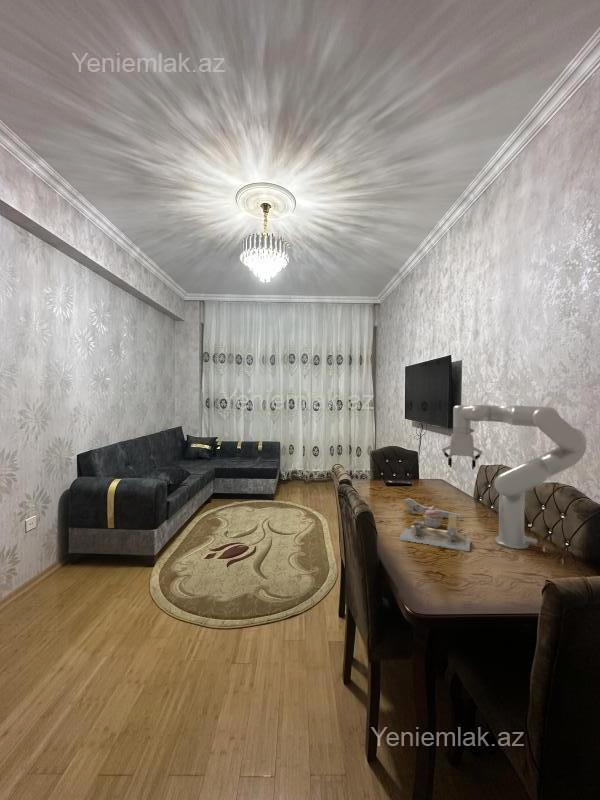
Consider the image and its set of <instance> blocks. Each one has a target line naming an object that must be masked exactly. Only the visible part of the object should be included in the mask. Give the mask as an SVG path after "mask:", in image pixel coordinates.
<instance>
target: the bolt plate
mask: <svg viewBox="0 0 600 800" xmlns="http://www.w3.org/2000/svg"><path fill="white" fill-rule="evenodd" d="M399 541H403V542H409V541H410V543H415V542H416V543H417V544H421V543H423V544H422V545H427V544H429V545H428V546H433V545H434V547H438V546H441V547H440V548H444V547H445V548H446V549H451V550H456V551H463V552H468V551H469V552H470V551H471V550H470V548H471V538H470V537H466V541H464V540H457V539H453V540H450V538H445V537H439V536H432V535H426V534H420V533H419V536H416V533H414V532H411V528H407V527H405V528H404V529H403V530H402V532H401V533H400V536H399Z"/></svg>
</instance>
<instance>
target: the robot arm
mask: <svg viewBox="0 0 600 800" xmlns="http://www.w3.org/2000/svg"><path fill="white" fill-rule="evenodd" d="M452 410H453V411H452V413H453V414H452V415H453V417H452V420H453V422H452V426H453V427H452V429H453V430H452V434H450V435H451V436H450V443H449V444H450V445H448V446H445V447H444V448H442V449H441V451H442V453H443V455H444V456H445V457H446V458H447V459H448V462H447V465H448V466H449V468H452V466H453V459H452V457H453V456H459V457H460V456H462V457H470V458H471V459H472V460H471V469H472V470H474V469H475V468H476V465H477V464H476V463H477V462H476V461H477V460H478V459H479V458H480V457H481V455H482V454H483V451H482V450H481V449H479V448H477V447H475V446H474V436H473V434H472V433H475V429H472V428H471V427H472V426H471V425H472V424H471V423H472V422H476V423H477V422H495V423H504V424H509V425H511V426H521V427H522V426H523V427H532V428H535V427H537V428H538V429H539V431H541V432H542V433H543V434H544V435H546V436H547V437H548V438H549V439H550V440H551V441H552V443H554V444H555V445H557V447H556V448H554V449H552V450H550V451H549V452H547V453H544V454H543V455H540V456H538V457H535V458H533V459H530V460H528V461H526V462H524V463H522V464H520V465H517V466H516V467H513V468H512V469H507V470H504V471H503V472H501V473H500V474H498V476H496V477H495V478H494V479H495V480H494V482H493V484H494V489H495V491H496V492H497V493H498V495H499V498H498V535H497V536H495V537H494V542H495V543H496V544H497V545H499V546H502V547H505V548H508V547H509V549H514V548H515V549H514V550H523V549H524V550H525V549H528V548H529V545H530V544H534V545H538V539H537V538H534V537H531V536H526V534H525V498H526V497H525V496H526V491H529V490H531V489H533V488H535V487H538V486H541V485H542V484H543V483H545V482H546V480H548V479H549V478H551V477H552V476H553V477H554V476H555V475H558V474H559V473H561V472H563V471H566V470H568V469H569V468H572V467H574V466H575V465H577V464H578V462H580V461H581V460H582V458H583V457H584V455H585V454H586V451H587V438H586V434H585V433H584V432H583V431H582V430H580V429H579V428H576V427H573V426H572V425H571V424H569V423H568V422H567V421H566V420H565V419H564V418H562V417H561V416H560V413H559V412H558V411H557V410H556V409H555V408H553V407H549V406H533V405H532V406H531V405H491V404H487V405H486V404H473V405H468V404H467V405H465V404H464V405H463V404H461V405H454V406H453V409H452ZM471 421H472V422H471ZM447 450H449V454H448V452H447ZM475 452H477V454H476V455H474V453H475Z"/></svg>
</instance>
